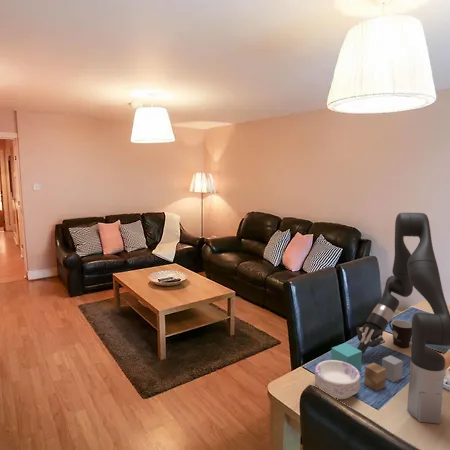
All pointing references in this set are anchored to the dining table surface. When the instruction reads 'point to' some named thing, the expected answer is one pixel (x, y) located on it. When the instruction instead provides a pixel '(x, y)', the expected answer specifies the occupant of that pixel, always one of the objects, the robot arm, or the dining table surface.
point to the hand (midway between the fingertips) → (359, 352)
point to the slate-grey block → (392, 368)
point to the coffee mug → (401, 333)
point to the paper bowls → (337, 378)
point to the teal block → (347, 355)
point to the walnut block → (375, 376)
